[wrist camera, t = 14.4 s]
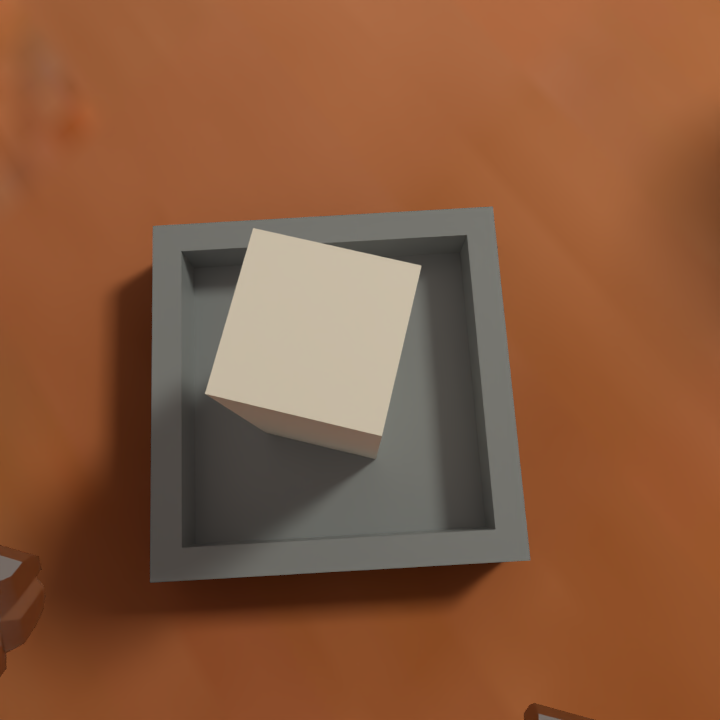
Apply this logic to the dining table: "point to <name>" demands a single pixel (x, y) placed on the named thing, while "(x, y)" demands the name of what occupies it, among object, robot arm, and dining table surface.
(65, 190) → the dining table surface
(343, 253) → the cream block
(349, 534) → the grey tray
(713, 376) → the dining table surface
